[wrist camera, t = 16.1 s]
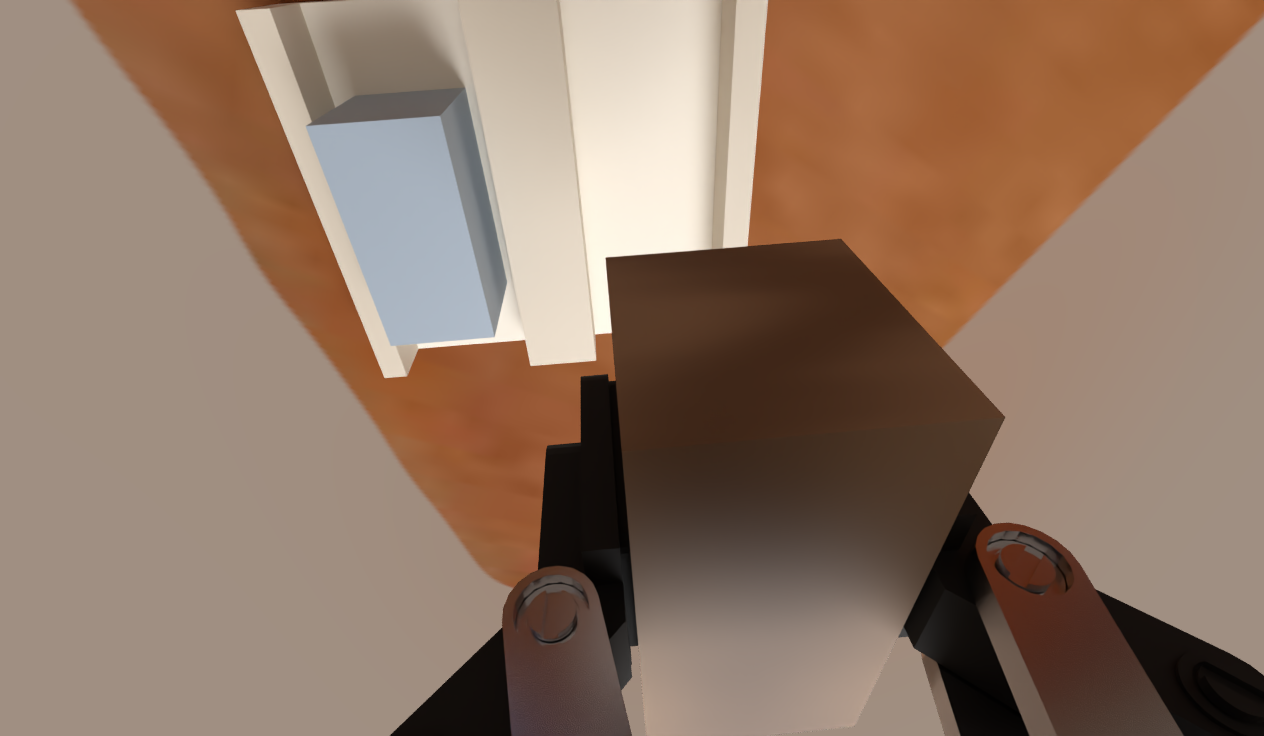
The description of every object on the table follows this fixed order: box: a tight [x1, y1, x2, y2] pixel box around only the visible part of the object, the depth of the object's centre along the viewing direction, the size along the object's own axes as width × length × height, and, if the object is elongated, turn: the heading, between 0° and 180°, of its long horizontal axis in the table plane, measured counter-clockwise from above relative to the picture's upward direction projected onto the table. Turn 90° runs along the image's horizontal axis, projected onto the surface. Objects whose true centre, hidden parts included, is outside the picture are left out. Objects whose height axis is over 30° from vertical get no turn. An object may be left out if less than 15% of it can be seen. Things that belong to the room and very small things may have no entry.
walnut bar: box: [605, 239, 1005, 736], centre depth 10 cm, size 4×8×4 cm, turn 3°
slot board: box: [236, 0, 768, 378], centre depth 22 cm, size 16×14×3 cm
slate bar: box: [306, 88, 507, 346], centre depth 21 cm, size 4×8×4 cm, turn 3°
